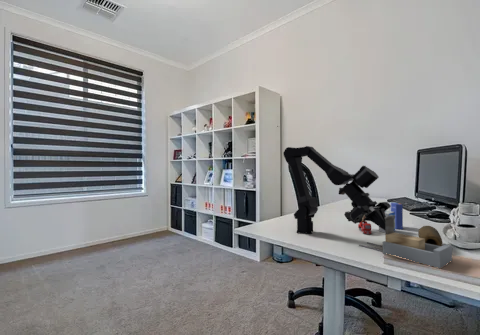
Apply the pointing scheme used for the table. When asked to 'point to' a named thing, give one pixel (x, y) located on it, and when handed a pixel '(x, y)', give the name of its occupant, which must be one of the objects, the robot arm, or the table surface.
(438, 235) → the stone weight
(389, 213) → the medicine box
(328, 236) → the table surface
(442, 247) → the tray
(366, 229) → the toy fire truck
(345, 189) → the robot arm
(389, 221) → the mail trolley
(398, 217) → the walkman
